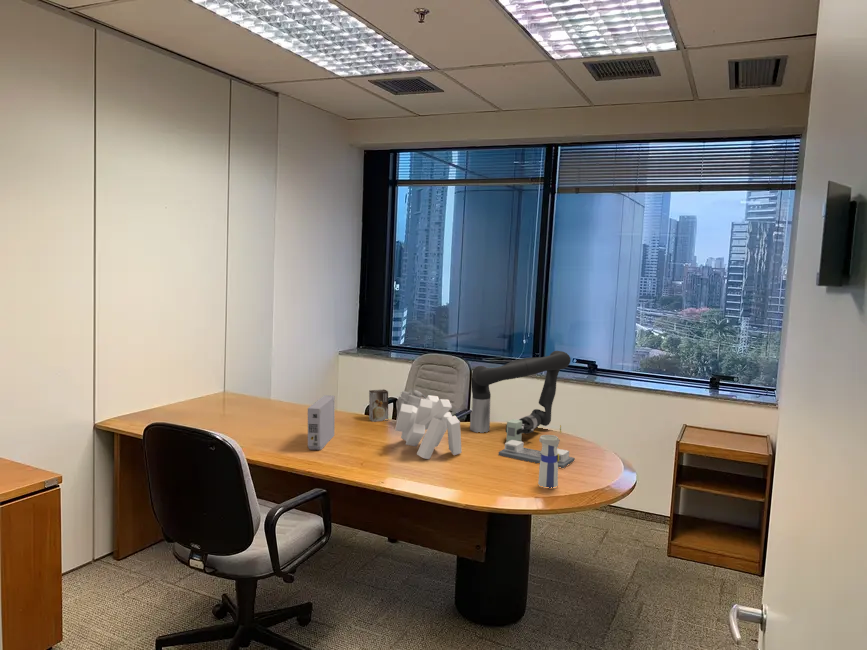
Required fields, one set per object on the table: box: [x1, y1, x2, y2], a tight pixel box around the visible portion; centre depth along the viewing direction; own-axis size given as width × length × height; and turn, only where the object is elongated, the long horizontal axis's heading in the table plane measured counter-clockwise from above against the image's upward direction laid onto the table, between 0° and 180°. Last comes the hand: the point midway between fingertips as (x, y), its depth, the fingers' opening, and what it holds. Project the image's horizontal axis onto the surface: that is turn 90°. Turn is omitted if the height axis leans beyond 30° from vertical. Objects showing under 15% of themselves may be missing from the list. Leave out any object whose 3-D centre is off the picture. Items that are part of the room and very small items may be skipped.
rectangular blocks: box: [504, 440, 570, 462], centre depth 282 cm, size 28×7×3 cm, turn 56°
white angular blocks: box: [394, 394, 463, 460], centre depth 287 cm, size 35×30×35 cm
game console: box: [307, 394, 335, 451], centre depth 299 cm, size 6×27×20 cm, turn 174°
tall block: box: [505, 418, 523, 443], centre depth 303 cm, size 5×6×11 cm
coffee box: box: [368, 388, 389, 423], centre depth 342 cm, size 9×6×16 cm
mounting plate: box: [503, 447, 570, 463], centre depth 282 cm, size 29×7×1 cm, turn 56°
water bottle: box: [537, 424, 562, 488], centre depth 248 cm, size 8×9×25 cm
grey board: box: [497, 447, 576, 469], centre depth 282 cm, size 31×13×2 cm, turn 56°
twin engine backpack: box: [395, 389, 427, 422], centre depth 332 cm, size 18×19×20 cm
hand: (511, 431), depth 301 cm, fingers closed on tall block, 5 cm apart
